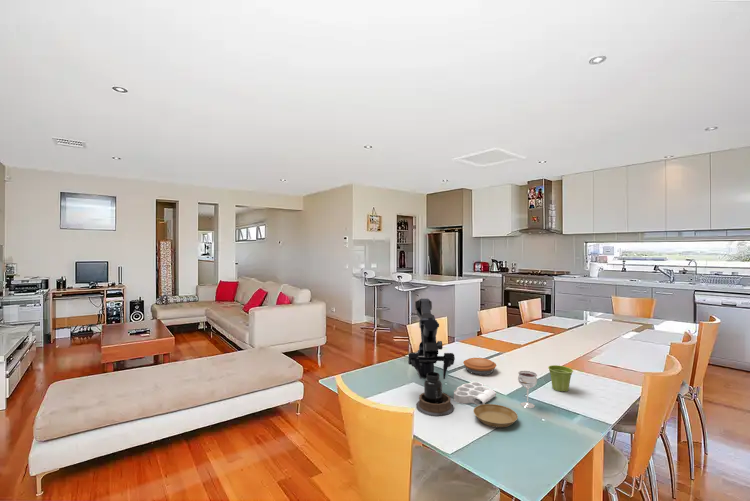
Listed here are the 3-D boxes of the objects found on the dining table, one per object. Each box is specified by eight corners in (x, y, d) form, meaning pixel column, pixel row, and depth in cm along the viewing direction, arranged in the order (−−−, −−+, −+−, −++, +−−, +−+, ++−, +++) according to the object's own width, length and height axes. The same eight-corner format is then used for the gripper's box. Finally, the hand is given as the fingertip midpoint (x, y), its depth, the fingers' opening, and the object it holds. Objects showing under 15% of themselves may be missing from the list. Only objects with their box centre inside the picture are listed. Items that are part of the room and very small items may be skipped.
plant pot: (552, 383, 159) (552, 363, 159) (576, 389, 152) (576, 368, 152) (544, 389, 152) (544, 368, 152) (568, 395, 145) (568, 374, 145)
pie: (500, 376, 167) (500, 366, 167) (467, 376, 168) (467, 366, 167) (490, 365, 183) (490, 355, 183) (460, 365, 183) (460, 355, 183)
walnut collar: (441, 397, 145) (441, 388, 145) (461, 412, 132) (461, 402, 132) (410, 402, 140) (410, 393, 140) (427, 418, 127) (427, 408, 127)
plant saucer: (465, 420, 126) (465, 413, 126) (486, 406, 137) (486, 400, 137) (505, 436, 116) (505, 428, 116) (524, 420, 126) (524, 412, 126)
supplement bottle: (440, 401, 140) (440, 370, 139) (443, 409, 133) (443, 377, 133) (423, 401, 140) (423, 370, 140) (425, 409, 133) (425, 377, 133)
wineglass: (535, 410, 133) (535, 378, 132) (516, 406, 136) (516, 374, 136) (538, 403, 138) (538, 372, 138) (519, 399, 142) (519, 369, 142)
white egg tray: (479, 410, 134) (445, 399, 144) (499, 395, 147) (467, 386, 157) (479, 401, 134) (445, 391, 144) (499, 387, 147) (467, 378, 157)
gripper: (408, 333, 149) (409, 369, 138) (453, 333, 148) (458, 369, 137) (407, 346, 157) (408, 381, 146) (450, 347, 156) (455, 382, 145)
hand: (432, 378), depth 143 cm, fingers open, 9 cm apart
